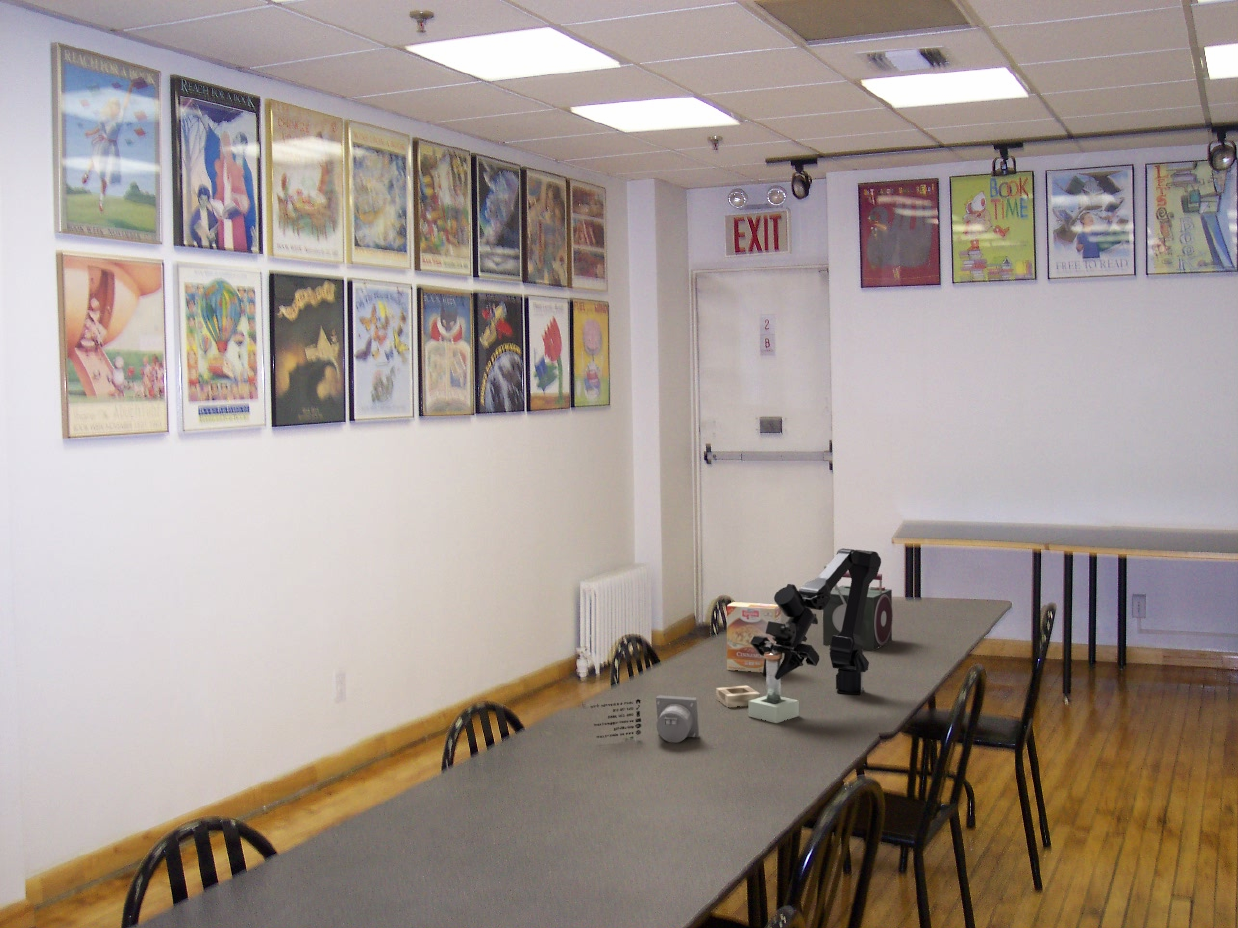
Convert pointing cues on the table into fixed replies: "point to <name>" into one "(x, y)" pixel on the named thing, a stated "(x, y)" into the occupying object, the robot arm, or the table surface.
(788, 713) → the dock socket
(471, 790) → the table surface
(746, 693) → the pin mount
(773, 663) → the lock pin
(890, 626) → the boombox
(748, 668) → the coffeecake box
